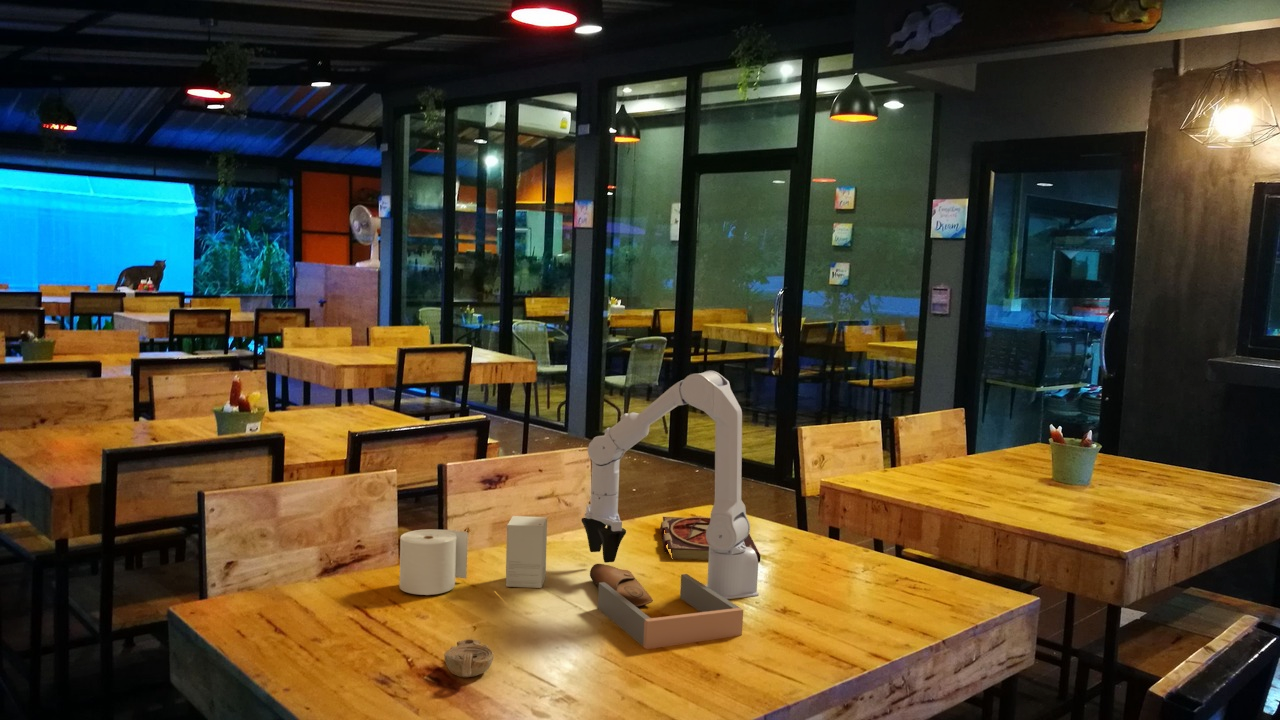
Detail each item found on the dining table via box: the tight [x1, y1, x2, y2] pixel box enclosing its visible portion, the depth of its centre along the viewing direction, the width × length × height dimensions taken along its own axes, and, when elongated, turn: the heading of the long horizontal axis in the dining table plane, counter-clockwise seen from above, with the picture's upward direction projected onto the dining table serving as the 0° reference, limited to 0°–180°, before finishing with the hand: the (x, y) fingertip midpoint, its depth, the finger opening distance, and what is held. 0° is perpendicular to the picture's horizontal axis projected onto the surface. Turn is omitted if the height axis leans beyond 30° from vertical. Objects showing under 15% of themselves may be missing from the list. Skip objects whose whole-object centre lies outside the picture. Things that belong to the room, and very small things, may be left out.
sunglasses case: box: [589, 563, 654, 608], centre depth 188 cm, size 18×7×7 cm
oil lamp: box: [443, 638, 494, 678], centre depth 149 cm, size 13×8×5 cm, turn 5°
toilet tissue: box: [398, 528, 469, 596], centre depth 188 cm, size 11×12×10 cm
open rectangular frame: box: [597, 573, 744, 650], centre depth 174 cm, size 18×21×5 cm
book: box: [659, 516, 762, 563], centre depth 227 cm, size 28×21×5 cm
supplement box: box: [505, 515, 548, 589], centre depth 193 cm, size 7×7×13 cm
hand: (602, 556), depth 202 cm, fingers open, 7 cm apart
